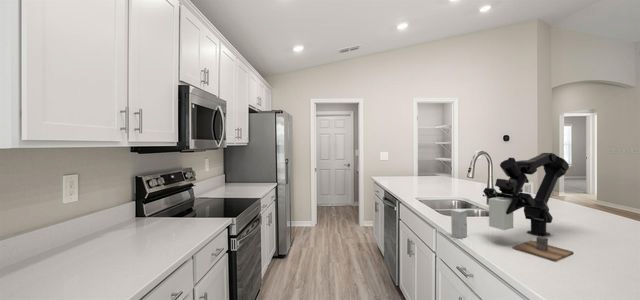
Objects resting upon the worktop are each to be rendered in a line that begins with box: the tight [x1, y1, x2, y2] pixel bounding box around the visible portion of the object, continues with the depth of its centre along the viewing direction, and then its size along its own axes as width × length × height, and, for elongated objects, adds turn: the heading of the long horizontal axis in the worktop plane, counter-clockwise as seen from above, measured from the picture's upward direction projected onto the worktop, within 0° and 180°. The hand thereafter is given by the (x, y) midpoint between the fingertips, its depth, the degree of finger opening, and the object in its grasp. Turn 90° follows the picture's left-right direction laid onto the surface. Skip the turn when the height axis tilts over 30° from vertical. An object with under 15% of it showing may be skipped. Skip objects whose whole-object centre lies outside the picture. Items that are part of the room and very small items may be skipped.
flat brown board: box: [512, 235, 574, 262], centre depth 105 cm, size 14×14×5 cm
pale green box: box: [488, 197, 514, 231], centre depth 114 cm, size 6×6×12 cm
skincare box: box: [450, 208, 468, 239], centre depth 124 cm, size 6×4×12 cm
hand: (498, 212), depth 113 cm, fingers closed on pale green box, 6 cm apart
